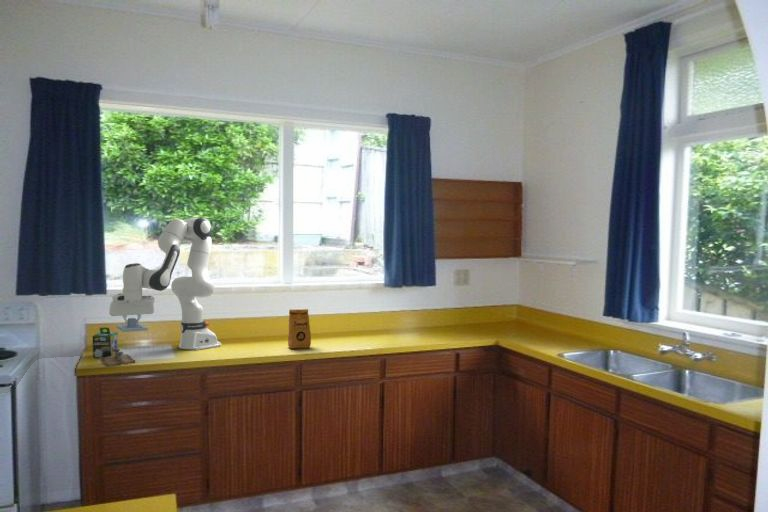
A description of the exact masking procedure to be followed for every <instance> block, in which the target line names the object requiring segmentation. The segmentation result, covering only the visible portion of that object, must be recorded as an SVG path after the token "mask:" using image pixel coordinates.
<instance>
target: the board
mask: <svg viewBox="0 0 768 512" xmlns="http://www.w3.org/2000/svg"><path fill="white" fill-rule="evenodd" d="M113 352H115V355H114V356H109V357H101V361H102V362H103V363H104V362H105V363H106V364H107V365H106V364H105V363H104V364H105V365H106V366H107V367H108V368H109V367H115V365H117V366H122V365H121V364H125V365H129V364H128V363H133V364H136V360H135V359H134V358H132V357H131V356H130V355H129V354H124V351H123V350H122V351H121V349H120V348H119V347H118V348H116V349H113Z"/></svg>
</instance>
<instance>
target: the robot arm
mask: <svg viewBox="0 0 768 512" xmlns="http://www.w3.org/2000/svg"><path fill="white" fill-rule="evenodd" d="M211 232H212V224H211V222H210V221H209V220H208V219H207V218H204V217H190V218H182V219H180V218H173V219H171V220H170V221H169V222H168V224H167V225H166V226H165V228H163V231H162V232H161V234H160V235H159V237H158V239H157V240H158V241H157V245H158V248H159V249H160V250H161V251H162V252H163V253H165V257H164V259H163V262H162V263H161V266H160V267H159V268H158V269H156V270H154V269H149V268H146V267H145V266H143V265H142V264H141V263H139V262H138V263H137V262H135V263H129V264H126V265H125V266H124V268H123V273H122V284H123V287H122V292H121V293H118V294H114V295H112V296H111V299H112V301H111V302H110V304H109V311H108V312H109V315H110V316H111V317H122V318H123V319H124V325H128V324H129V320H128V316H137V318H136V324H140V322H139V321H140V319H141V318H142V315H153V314H154V313H155V305H154V304H155V297H154V296H152V295H143V289H148V290H154V291H159V292H161V291H162V292H163V291H165V290H166V289H167V288H168V287H169V285H170V284H171V285H170V287H171V291H172V293H173V294H174V295H175V296H176V298H177V299H178V301H179V304H180V306H181V323H180V332H181V333H180V334H181V337H180V342H179V345H178V348H179V349H180V350H181V349H182V350H193V351H200V350H205V349H212V348H218V347H221V346H222V342H220V341H218V337H217V335H216V333H215V332H213V331H212V330H211V329H209V328H207V327H209V326H210V323H209V322H208V321H204V308H203V306H202V304H200V303H199V302H198V299H197V298H208V297H210V296H212V294H214V291H215V285H214V284H215V283H214V282H213V281H212V279H211V278H210V275H209V264H210V258H211V253H212V245H213V243H212V238H211V237H210V236H211ZM184 239H191V246H190V250H189V252H188V253H189V255H188V258H187V263H186V265H187V267H188V269H190V270H191V276H178V277H175V278H174V279H173V280H172V282H171V279H172V274H173V272H174V270H175V267H176V265H177V262H178V259H179V256H180V252H181V249H180V247H181V245H182V243H183V241H184ZM170 282H171V283H170Z"/></svg>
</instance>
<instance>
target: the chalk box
mask: <svg viewBox="0 0 768 512" xmlns="http://www.w3.org/2000/svg"><path fill="white" fill-rule="evenodd" d="M104 330H105V331H104ZM91 337H92V358H93V357H94V358H102V357H109V356H115V352H113V349H116V348H119V338H118V337H119V336H118V331H110V327H106V326H104V327H99V332H98V333H95V334H93V335H92V336H91Z"/></svg>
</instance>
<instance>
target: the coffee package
mask: <svg viewBox="0 0 768 512" xmlns="http://www.w3.org/2000/svg"><path fill="white" fill-rule="evenodd" d="M288 314H289V317H288V337H287V338H288V339H287V343H288V344H287V346H288V348H289V349H292V350H293V349H295V350H296V349H298V350H299V349H302V350H303V349H310V347H311V344H312V335H311V334H312V333H311V325H310V317H309V308H302V309H289V311H288Z"/></svg>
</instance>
